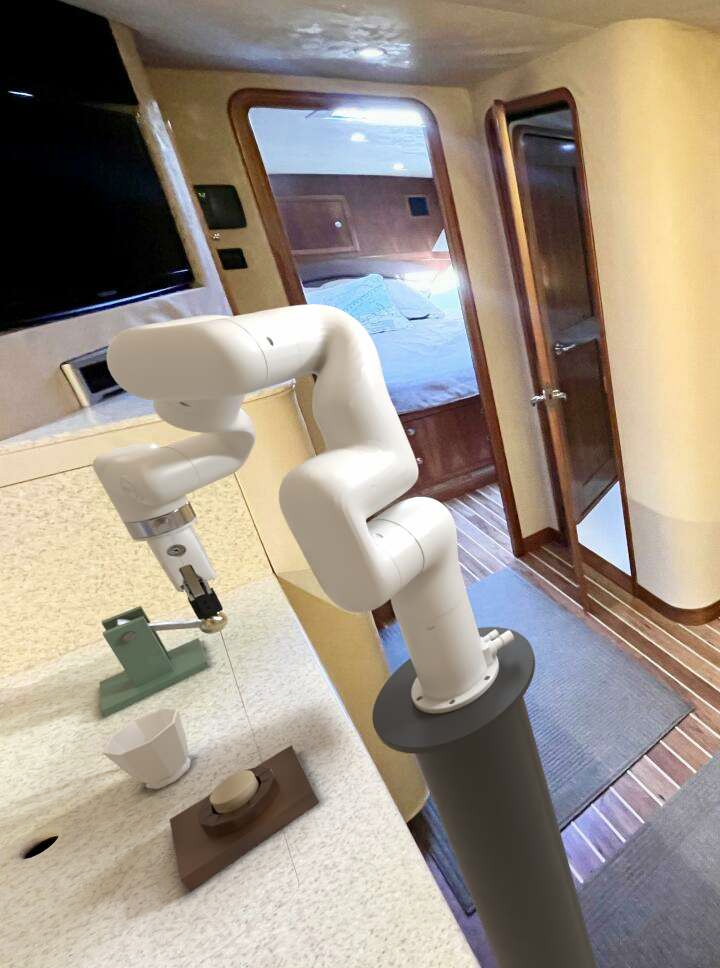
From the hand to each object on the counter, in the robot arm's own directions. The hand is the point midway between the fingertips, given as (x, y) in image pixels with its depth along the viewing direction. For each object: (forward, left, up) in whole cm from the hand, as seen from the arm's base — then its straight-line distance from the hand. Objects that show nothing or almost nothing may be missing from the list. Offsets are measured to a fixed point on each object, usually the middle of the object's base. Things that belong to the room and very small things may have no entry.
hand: (210, 613), depth 91 cm
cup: (+10, +24, -7) cm, 27 cm away
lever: (+5, 0, -1) cm, 5 cm away
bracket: (+9, 0, -7) cm, 11 cm away
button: (+4, +42, -3) cm, 42 cm away
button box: (+4, +42, -7) cm, 43 cm away
